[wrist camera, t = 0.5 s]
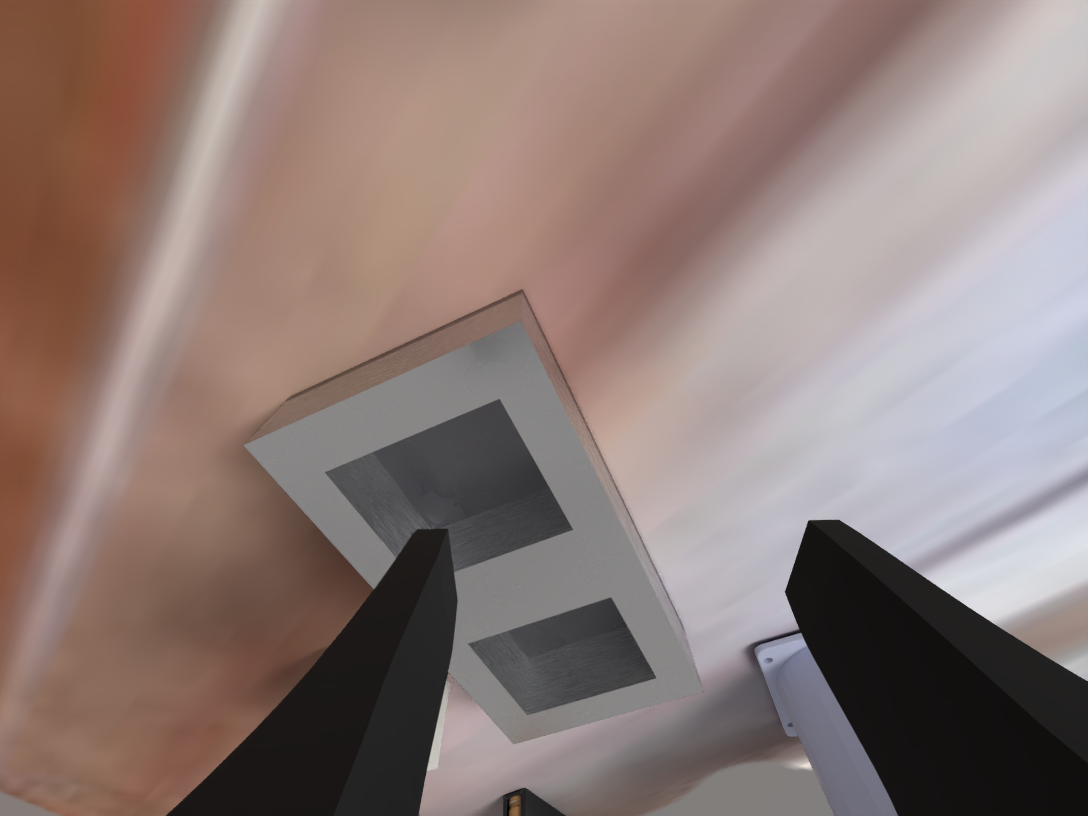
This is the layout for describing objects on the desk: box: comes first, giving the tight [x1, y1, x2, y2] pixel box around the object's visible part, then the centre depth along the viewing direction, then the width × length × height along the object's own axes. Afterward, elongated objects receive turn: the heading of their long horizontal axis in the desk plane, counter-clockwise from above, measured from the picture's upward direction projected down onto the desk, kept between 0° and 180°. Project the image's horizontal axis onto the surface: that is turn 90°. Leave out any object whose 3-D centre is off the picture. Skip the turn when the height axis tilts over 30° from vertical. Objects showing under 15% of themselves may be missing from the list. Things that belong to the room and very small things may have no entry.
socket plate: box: [244, 289, 704, 744], centre depth 21 cm, size 20×10×4 cm, turn 24°
